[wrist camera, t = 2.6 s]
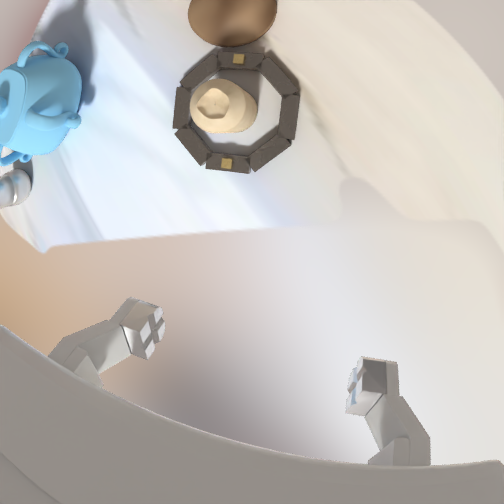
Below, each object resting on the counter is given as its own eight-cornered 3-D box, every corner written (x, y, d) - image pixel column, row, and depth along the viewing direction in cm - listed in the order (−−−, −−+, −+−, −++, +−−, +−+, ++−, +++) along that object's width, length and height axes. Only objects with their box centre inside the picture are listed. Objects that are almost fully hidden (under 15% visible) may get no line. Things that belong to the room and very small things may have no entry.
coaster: (280, -20, 26) (280, -24, 25) (271, 49, 30) (270, 46, 29) (197, -20, 27) (195, -23, 26) (185, 47, 31) (182, 45, 30)
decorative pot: (99, 135, 37) (33, 145, 25) (34, 163, 40) (-24, 180, 28) (89, 40, 32) (27, 25, 19) (25, 80, 35) (-32, 81, 22)
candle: (212, 131, 35) (182, 132, 26) (214, 89, 33) (186, 76, 24) (256, 134, 35) (240, 134, 25) (259, 90, 32) (244, 76, 23)
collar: (304, 60, 30) (304, 57, 28) (289, 178, 36) (288, 180, 34) (184, 54, 32) (179, 51, 30) (173, 164, 37) (168, 166, 36)
